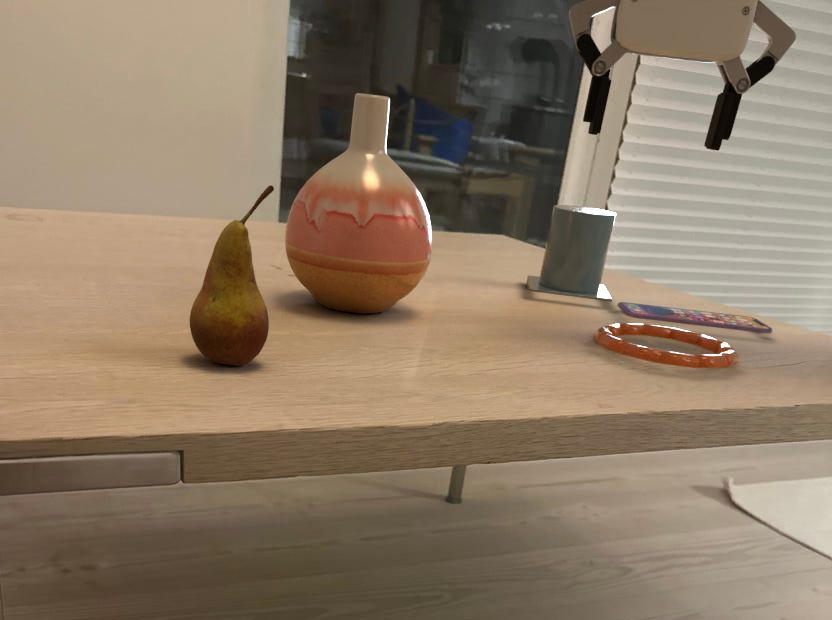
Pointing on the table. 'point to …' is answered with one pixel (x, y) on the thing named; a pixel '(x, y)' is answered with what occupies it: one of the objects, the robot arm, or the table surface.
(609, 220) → the cylinder on square base
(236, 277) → the fruit
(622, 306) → the smartphone
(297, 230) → the vase
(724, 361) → the ring
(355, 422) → the table surface
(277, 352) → the table surface
